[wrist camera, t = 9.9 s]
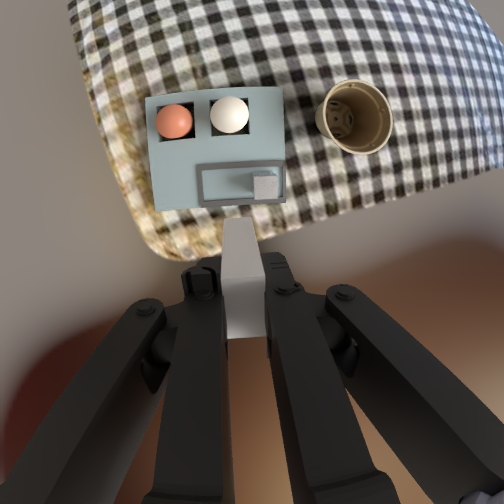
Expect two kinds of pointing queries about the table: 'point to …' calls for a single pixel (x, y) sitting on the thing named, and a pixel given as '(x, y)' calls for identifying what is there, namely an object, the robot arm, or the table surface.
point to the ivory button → (229, 114)
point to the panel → (217, 151)
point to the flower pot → (355, 117)
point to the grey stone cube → (264, 185)
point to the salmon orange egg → (174, 121)
